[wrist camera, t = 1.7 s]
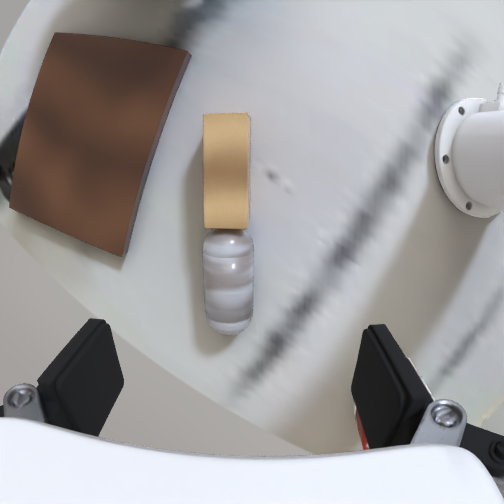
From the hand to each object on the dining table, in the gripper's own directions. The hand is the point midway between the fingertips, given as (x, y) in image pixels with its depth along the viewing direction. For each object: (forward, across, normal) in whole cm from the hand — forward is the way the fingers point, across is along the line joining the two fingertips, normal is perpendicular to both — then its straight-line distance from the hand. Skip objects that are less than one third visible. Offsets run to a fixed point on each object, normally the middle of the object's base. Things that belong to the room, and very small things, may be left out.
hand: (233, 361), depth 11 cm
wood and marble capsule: (+19, +2, 0) cm, 19 cm away
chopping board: (+19, +16, -10) cm, 27 cm away
